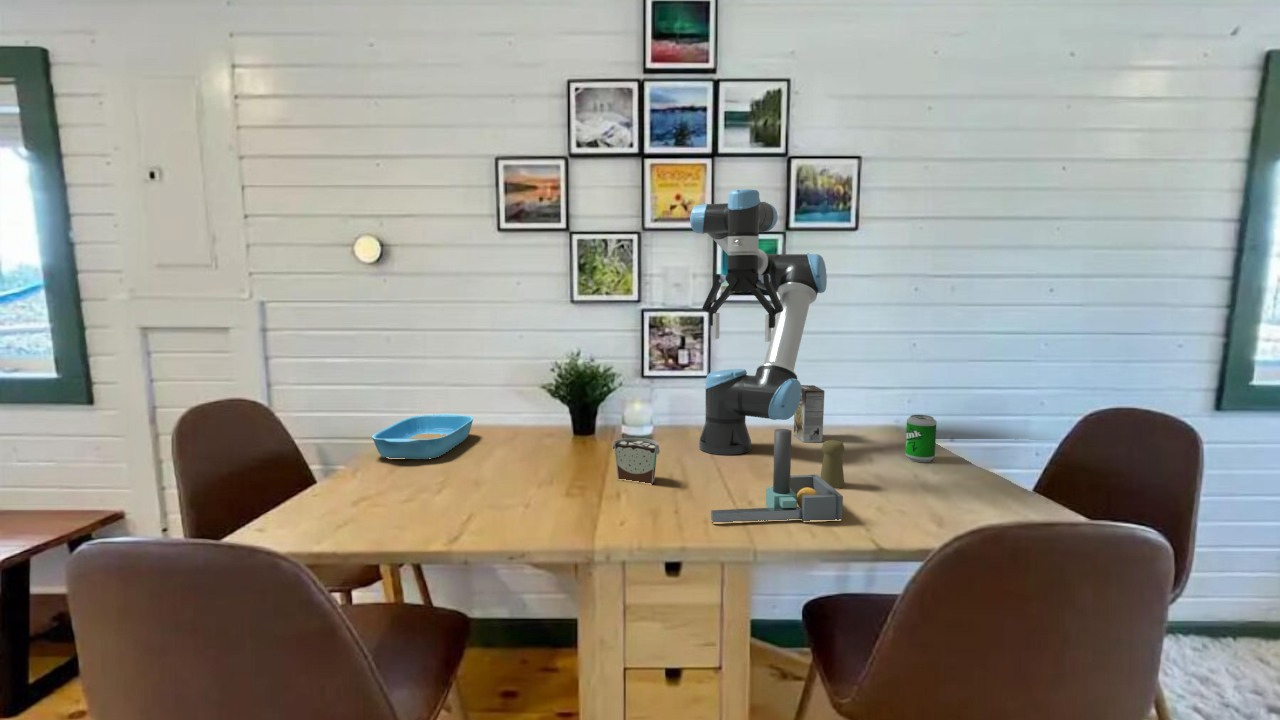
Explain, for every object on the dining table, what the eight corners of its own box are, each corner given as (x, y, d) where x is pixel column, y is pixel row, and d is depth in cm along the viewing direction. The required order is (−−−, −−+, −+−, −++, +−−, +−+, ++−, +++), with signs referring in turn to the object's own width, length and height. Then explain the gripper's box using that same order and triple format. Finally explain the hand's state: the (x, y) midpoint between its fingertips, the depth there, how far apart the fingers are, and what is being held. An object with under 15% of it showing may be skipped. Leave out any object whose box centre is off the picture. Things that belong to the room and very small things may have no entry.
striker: (777, 518, 144) (779, 437, 141) (765, 504, 152) (767, 427, 149) (800, 517, 144) (803, 436, 142) (787, 503, 152) (789, 427, 150)
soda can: (929, 456, 192) (931, 414, 190) (938, 463, 184) (940, 420, 183) (901, 455, 192) (903, 413, 191) (909, 463, 185) (911, 419, 183)
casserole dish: (415, 432, 222) (414, 411, 221) (482, 433, 220) (481, 412, 219) (360, 465, 186) (358, 440, 185) (439, 467, 184) (438, 441, 183)
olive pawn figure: (815, 481, 170) (816, 438, 168) (839, 480, 170) (840, 437, 169) (824, 489, 164) (825, 444, 162) (848, 488, 164) (850, 443, 163)
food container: (667, 478, 172) (667, 440, 171) (657, 486, 167) (657, 446, 165) (623, 472, 177) (623, 435, 176) (612, 479, 172) (612, 440, 170)
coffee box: (792, 435, 215) (794, 385, 213) (812, 434, 216) (814, 384, 214) (802, 442, 206) (804, 390, 204) (823, 442, 207) (825, 389, 205)
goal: (803, 523, 142) (804, 497, 141) (781, 498, 157) (781, 475, 156) (842, 521, 143) (842, 496, 142) (816, 497, 158) (816, 474, 157)
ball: (825, 488, 149) (823, 511, 150) (806, 483, 153) (804, 504, 153) (811, 493, 146) (809, 515, 146) (792, 486, 150) (790, 508, 150)
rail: (713, 524, 142) (713, 513, 141) (711, 521, 144) (711, 510, 143) (801, 520, 144) (802, 509, 143) (798, 517, 146) (798, 506, 145)
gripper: (690, 254, 170) (689, 339, 173) (788, 253, 159) (786, 344, 162) (701, 254, 177) (700, 336, 180) (797, 253, 166) (794, 340, 168)
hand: (741, 340), depth 171 cm, fingers open, 13 cm apart
